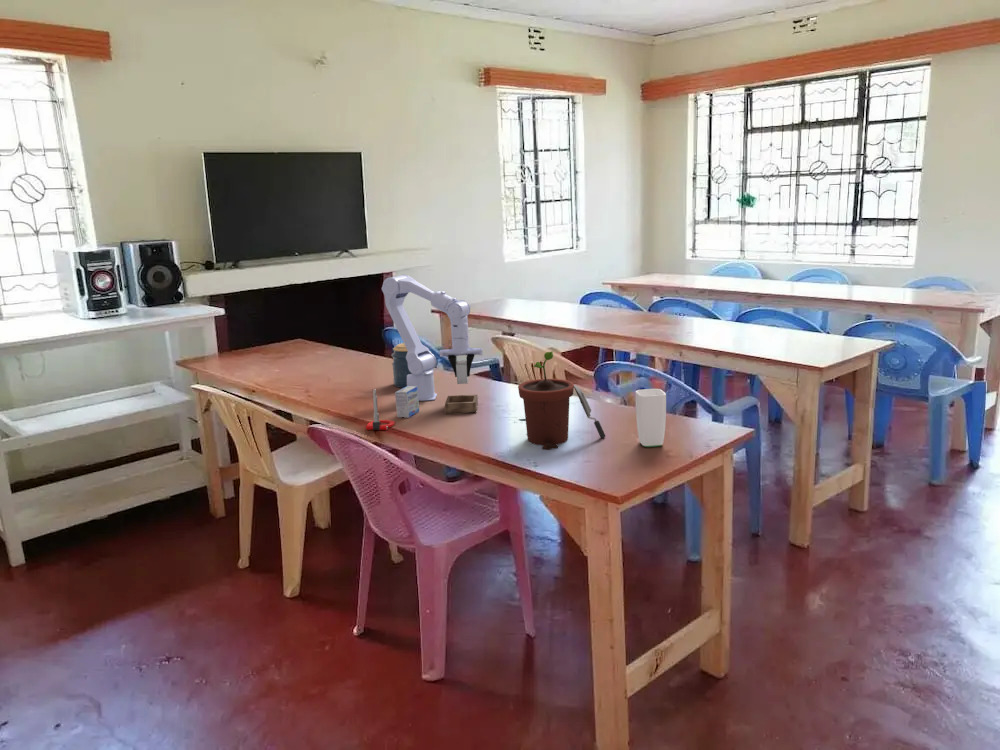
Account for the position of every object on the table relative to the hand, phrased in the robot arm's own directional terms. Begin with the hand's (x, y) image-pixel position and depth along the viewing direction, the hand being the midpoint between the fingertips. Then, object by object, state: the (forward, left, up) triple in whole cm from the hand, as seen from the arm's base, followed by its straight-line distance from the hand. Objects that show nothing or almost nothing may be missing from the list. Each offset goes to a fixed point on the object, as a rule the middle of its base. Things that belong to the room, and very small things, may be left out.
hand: (462, 376), depth 267 cm
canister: (-22, +29, -9) cm, 38 cm away
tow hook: (-24, -25, -9) cm, 36 cm away
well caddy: (0, -10, -9) cm, 13 cm away
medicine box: (-17, -13, -9) cm, 24 cm away
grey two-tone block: (0, 0, -2) cm, 2 cm away
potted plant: (+30, -46, -9) cm, 56 cm away
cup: (+56, -53, -9) cm, 77 cm away
